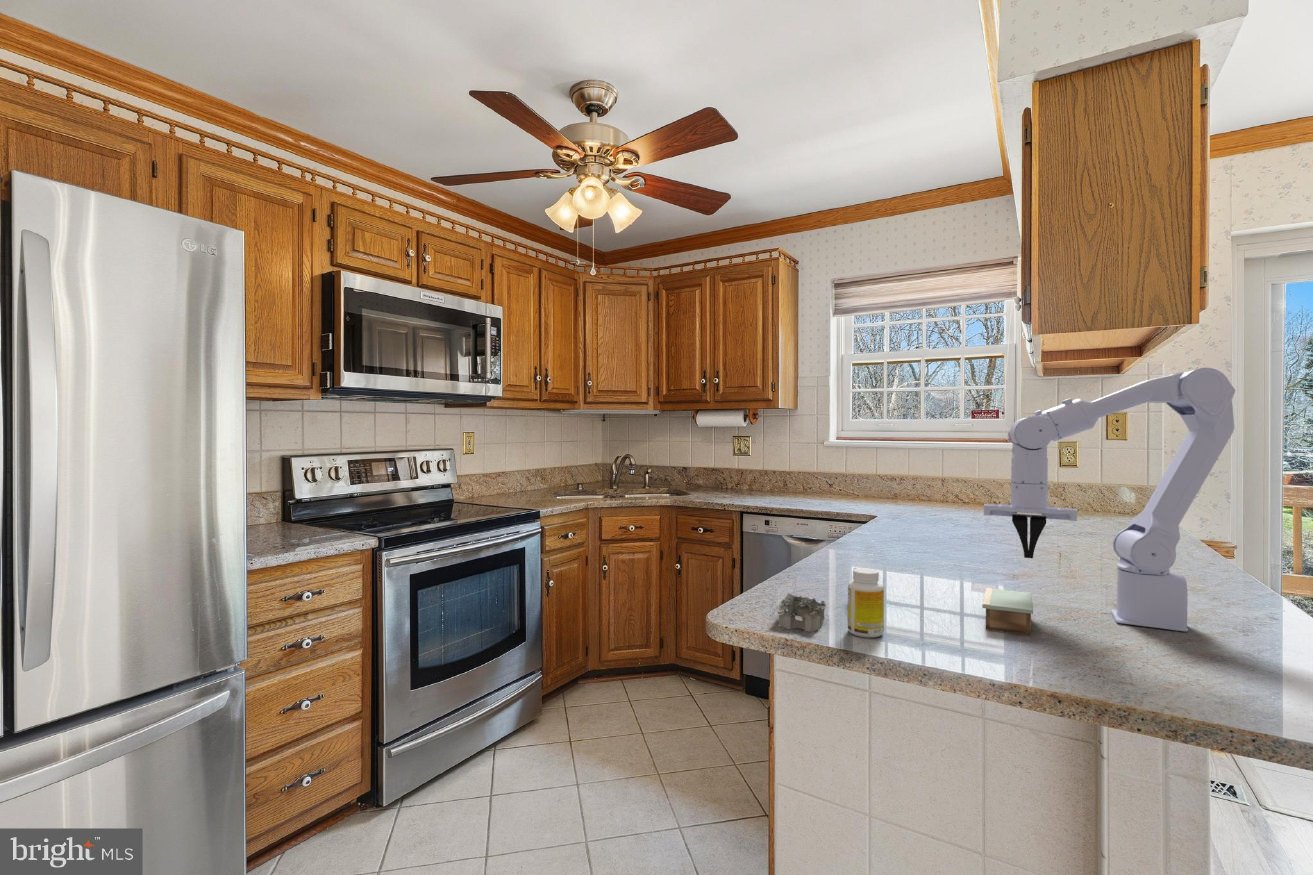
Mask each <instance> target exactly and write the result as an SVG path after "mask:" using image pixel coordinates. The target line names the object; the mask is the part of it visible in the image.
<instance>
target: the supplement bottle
mask: <svg viewBox="0 0 1313 875" xmlns="http://www.w3.org/2000/svg"><path fill="white" fill-rule="evenodd" d="M879 581H880V576H879V571H878V570H877V569H874V568H866V567H864V568H863V567H858V568H857V569H854V570H852V580H850V581H849V582H848V584H847V629H848V631H849V633H850V634H852V635H854V636H856V637H861V638H871V639H872V638H878V637H881V636H882V635H883V634H884V630H885V624H884V622H885V619H884V616H885V614H884V613H885V612H884V611H885V608H884V606H885V604H884V602H885V600H884V599H885V597H884V596H885V594H884V592H885V588H884V585H883V583H881V582H879Z"/></svg>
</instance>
